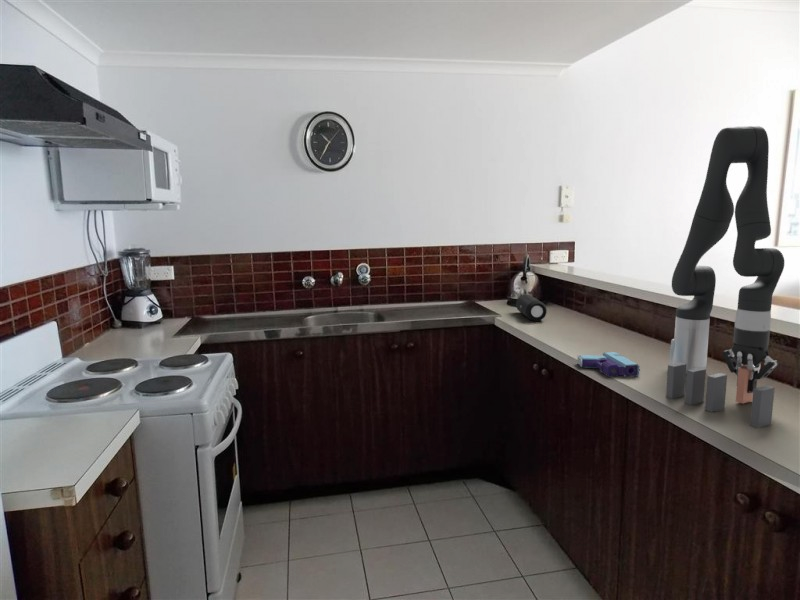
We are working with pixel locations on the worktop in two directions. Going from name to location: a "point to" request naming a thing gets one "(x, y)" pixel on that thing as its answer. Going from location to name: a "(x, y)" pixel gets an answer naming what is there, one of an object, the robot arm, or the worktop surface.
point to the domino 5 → (762, 406)
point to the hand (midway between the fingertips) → (745, 391)
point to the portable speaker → (531, 307)
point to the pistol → (610, 364)
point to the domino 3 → (716, 392)
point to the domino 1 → (676, 380)
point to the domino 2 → (695, 386)
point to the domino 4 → (743, 386)
